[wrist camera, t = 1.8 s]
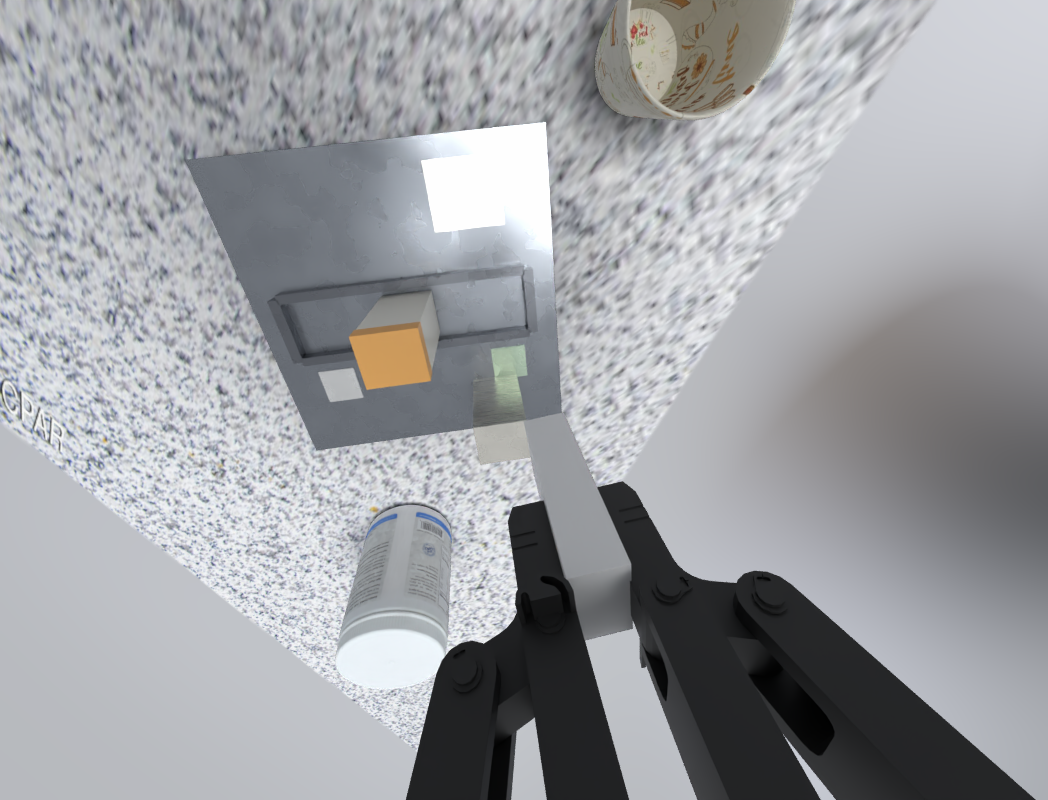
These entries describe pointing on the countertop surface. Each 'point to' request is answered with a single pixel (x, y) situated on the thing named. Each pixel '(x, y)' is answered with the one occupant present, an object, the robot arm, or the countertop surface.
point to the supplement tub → (398, 601)
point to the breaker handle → (397, 340)
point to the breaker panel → (401, 276)
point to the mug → (687, 54)
